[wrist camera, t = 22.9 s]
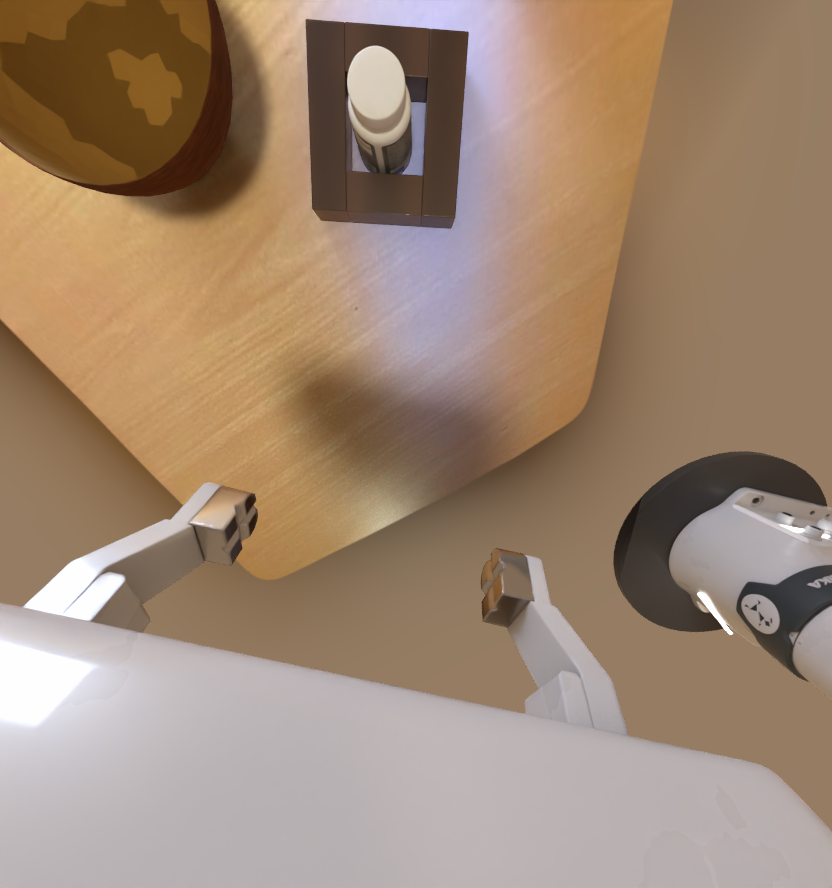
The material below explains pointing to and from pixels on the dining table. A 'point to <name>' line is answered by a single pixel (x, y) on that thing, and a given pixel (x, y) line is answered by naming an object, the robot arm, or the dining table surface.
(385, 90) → the pill bottle
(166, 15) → the bowl
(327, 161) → the dock
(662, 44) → the dining table surface
